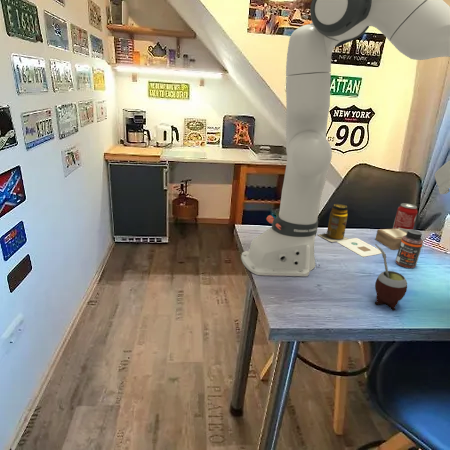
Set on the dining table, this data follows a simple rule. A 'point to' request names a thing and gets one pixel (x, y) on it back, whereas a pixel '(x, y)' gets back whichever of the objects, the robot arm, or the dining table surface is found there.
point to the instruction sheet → (359, 247)
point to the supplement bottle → (409, 249)
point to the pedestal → (390, 237)
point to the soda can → (405, 217)
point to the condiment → (336, 223)
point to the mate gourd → (389, 286)
